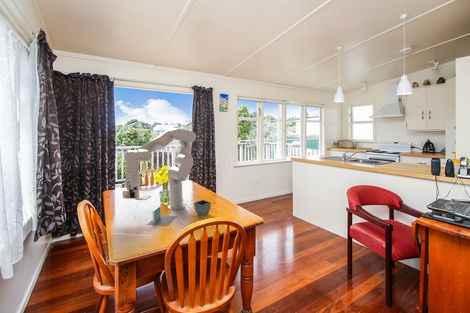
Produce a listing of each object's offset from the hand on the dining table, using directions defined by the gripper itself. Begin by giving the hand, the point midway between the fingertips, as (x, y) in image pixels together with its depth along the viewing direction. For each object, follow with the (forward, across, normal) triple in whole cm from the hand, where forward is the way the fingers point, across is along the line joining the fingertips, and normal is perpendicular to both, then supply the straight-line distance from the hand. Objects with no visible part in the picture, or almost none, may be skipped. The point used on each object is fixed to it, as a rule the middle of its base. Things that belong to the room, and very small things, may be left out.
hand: (134, 197), depth 148 cm
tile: (+15, 0, +16) cm, 21 cm away
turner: (+1, 0, +1) cm, 2 cm away
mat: (+15, 0, +20) cm, 25 cm away
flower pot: (+15, -14, +42) cm, 47 cm away
